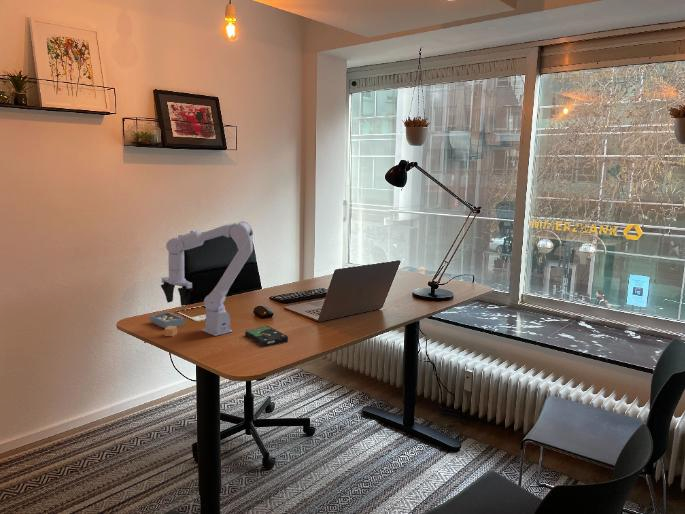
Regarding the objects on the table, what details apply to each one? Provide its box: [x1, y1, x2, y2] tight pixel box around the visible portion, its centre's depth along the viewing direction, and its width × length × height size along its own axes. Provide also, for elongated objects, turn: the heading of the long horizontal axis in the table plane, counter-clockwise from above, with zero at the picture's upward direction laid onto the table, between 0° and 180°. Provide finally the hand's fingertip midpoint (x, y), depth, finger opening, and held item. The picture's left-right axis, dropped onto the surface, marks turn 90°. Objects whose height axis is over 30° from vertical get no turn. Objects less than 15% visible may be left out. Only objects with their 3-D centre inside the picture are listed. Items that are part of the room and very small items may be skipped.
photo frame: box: [178, 305, 206, 322], centre depth 229 cm, size 15×1×18 cm
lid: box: [164, 326, 178, 337], centre depth 200 cm, size 12×8×4 cm
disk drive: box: [244, 325, 289, 348], centre depth 199 cm, size 10×3×15 cm
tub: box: [149, 311, 185, 329], centre depth 213 cm, size 12×8×3 cm, turn 48°
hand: (176, 303), depth 205 cm, fingers open, 7 cm apart
